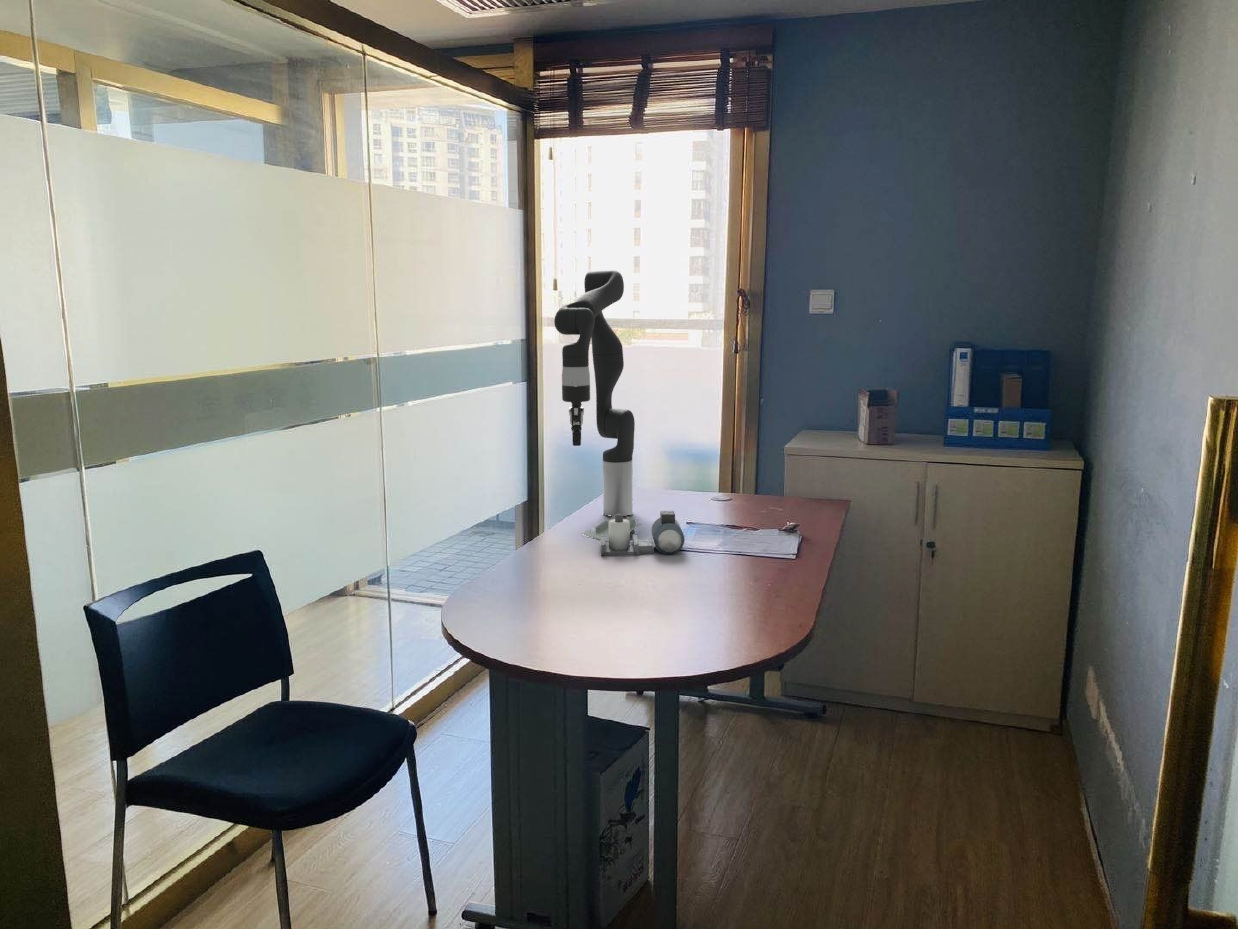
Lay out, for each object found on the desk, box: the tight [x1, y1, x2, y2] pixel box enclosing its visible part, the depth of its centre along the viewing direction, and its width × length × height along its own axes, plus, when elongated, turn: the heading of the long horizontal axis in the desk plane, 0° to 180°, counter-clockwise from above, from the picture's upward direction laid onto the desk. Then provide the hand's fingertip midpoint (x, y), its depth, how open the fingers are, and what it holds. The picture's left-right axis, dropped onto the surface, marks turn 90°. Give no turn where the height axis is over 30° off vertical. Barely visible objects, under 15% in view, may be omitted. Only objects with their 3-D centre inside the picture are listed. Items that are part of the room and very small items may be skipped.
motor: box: [600, 510, 686, 557], centre depth 238 cm, size 11×22×10 cm, turn 92°
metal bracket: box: [581, 515, 642, 542], centre depth 254 cm, size 14×6×15 cm
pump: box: [608, 514, 631, 550], centre depth 238 cm, size 6×6×9 cm
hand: (577, 443), depth 241 cm, fingers open, 8 cm apart
